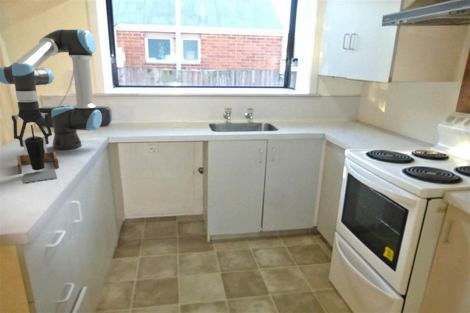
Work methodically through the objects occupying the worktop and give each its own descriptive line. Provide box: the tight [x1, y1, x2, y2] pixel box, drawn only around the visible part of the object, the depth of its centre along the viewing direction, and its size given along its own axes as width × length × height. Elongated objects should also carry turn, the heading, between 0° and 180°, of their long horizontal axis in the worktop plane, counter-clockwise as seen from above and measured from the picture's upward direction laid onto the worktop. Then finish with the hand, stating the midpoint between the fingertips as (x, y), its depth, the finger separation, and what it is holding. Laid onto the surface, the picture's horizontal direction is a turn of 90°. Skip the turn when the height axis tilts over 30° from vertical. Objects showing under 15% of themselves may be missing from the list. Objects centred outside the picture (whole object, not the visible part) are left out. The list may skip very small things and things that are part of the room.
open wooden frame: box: [16, 151, 60, 175], centre depth 156 cm, size 16×15×4 cm
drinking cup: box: [24, 124, 46, 171], centre depth 145 cm, size 8×8×20 cm
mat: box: [23, 168, 58, 184], centre depth 144 cm, size 12×12×1 cm
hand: (36, 152), depth 145 cm, fingers closed on drinking cup, 7 cm apart
